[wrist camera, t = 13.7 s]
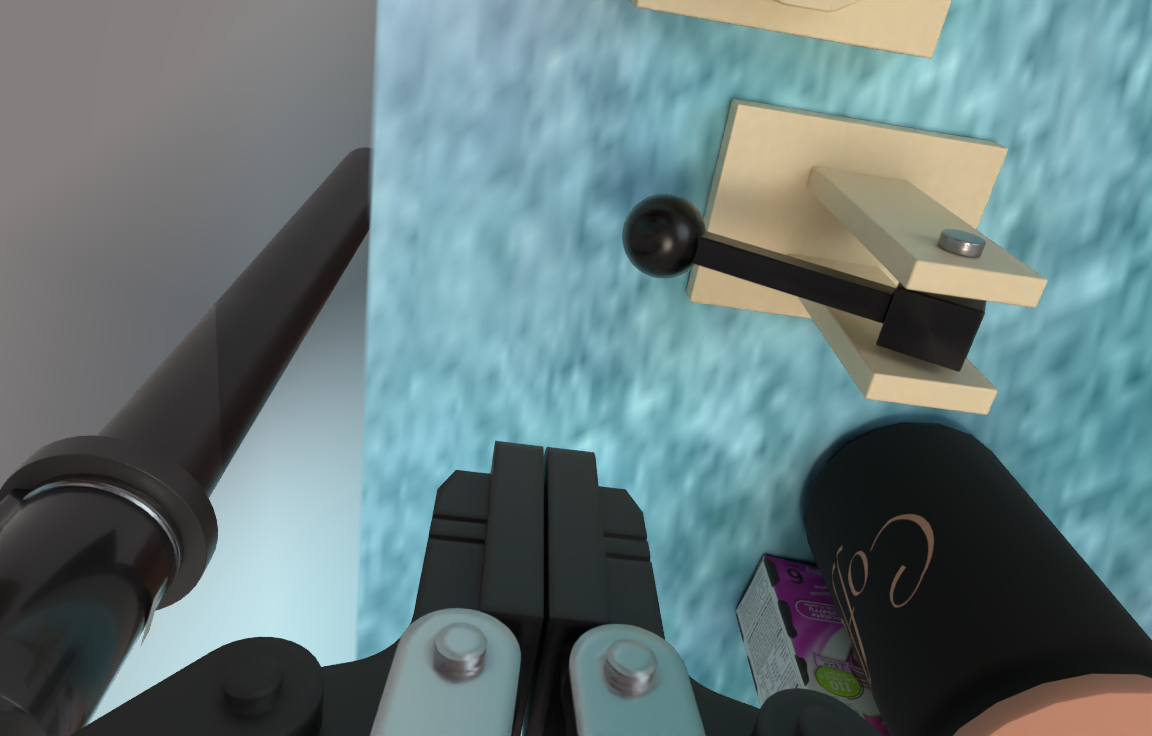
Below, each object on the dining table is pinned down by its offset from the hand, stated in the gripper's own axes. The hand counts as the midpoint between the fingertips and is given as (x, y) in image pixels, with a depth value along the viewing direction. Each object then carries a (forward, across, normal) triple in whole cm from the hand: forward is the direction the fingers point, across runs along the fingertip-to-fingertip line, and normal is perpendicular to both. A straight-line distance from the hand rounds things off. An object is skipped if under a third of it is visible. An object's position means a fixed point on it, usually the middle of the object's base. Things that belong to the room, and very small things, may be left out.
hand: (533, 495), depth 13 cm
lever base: (+26, -14, +2) cm, 30 cm away
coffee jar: (+27, -22, +16) cm, 38 cm away
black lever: (+19, -10, +2) cm, 22 cm away
